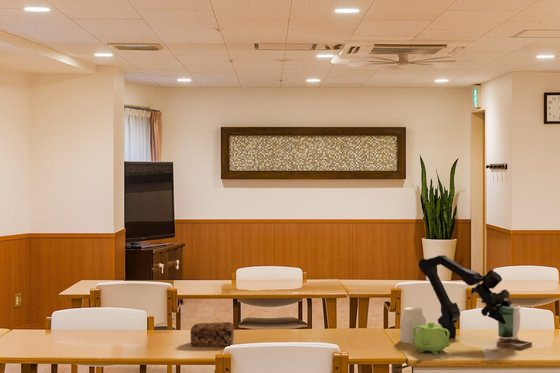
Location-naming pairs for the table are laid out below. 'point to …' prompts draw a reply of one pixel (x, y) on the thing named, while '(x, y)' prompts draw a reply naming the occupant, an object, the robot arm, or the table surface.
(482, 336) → the table surface
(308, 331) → the table surface
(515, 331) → the jar
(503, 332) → the tea canister
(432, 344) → the teapot
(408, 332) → the jar
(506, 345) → the walnut tray
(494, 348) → the cork coaster
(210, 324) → the bread
